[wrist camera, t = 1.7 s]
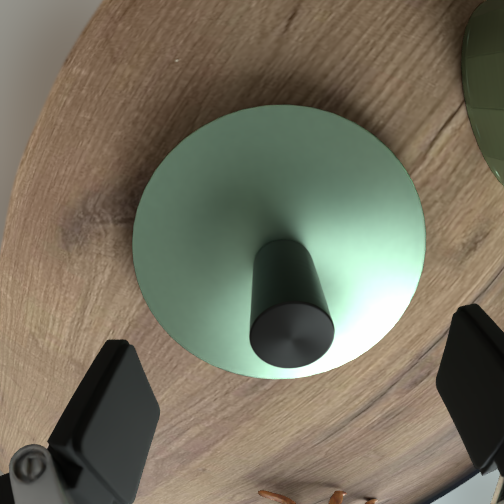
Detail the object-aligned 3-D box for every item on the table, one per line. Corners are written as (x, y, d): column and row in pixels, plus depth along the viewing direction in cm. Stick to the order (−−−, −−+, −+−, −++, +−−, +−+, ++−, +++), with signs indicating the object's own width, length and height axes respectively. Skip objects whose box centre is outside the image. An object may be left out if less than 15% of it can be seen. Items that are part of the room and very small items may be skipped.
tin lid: (115, 132, 13) (31, 148, 7) (415, 102, 12) (500, 101, 6) (175, 370, 18) (151, 453, 13) (402, 348, 17) (439, 426, 12)
